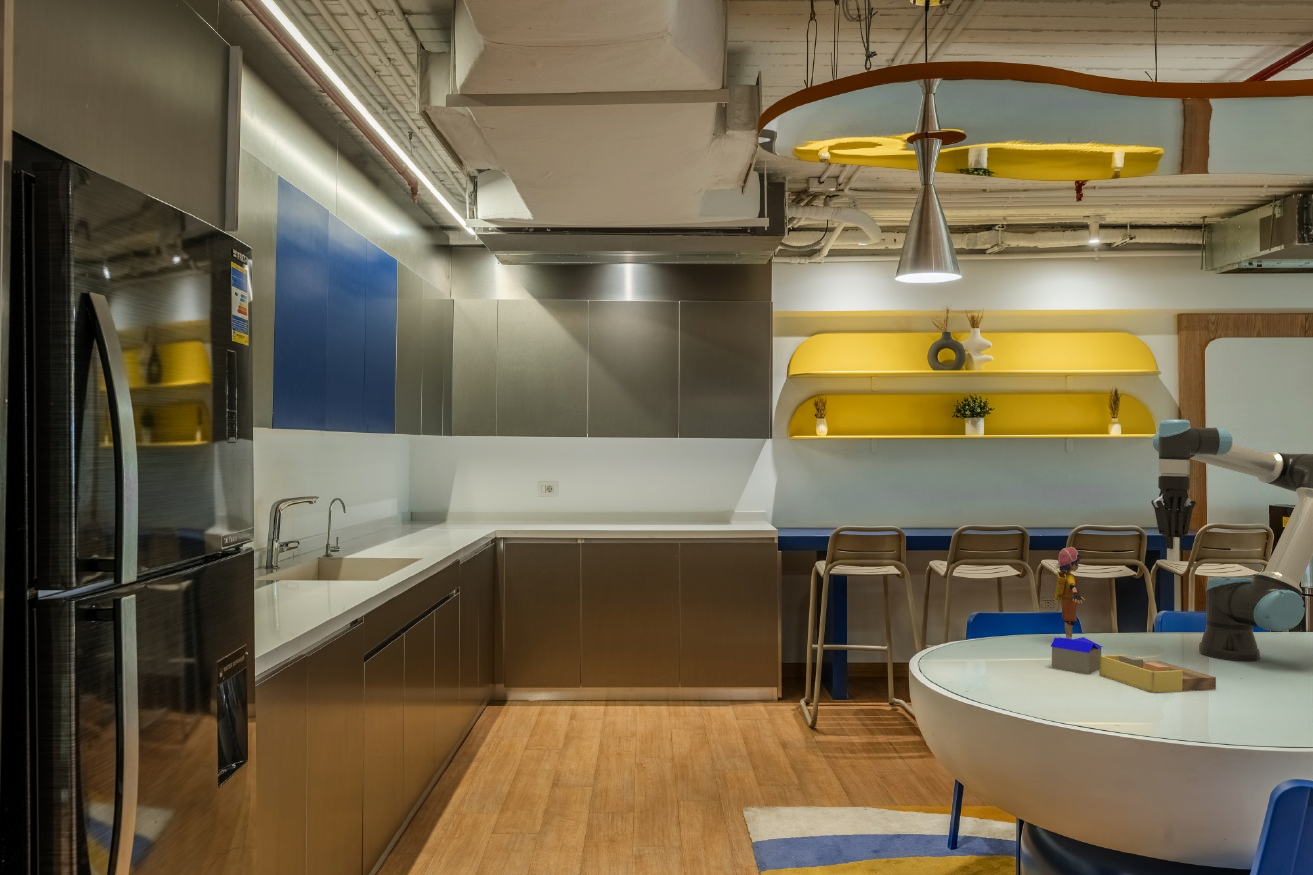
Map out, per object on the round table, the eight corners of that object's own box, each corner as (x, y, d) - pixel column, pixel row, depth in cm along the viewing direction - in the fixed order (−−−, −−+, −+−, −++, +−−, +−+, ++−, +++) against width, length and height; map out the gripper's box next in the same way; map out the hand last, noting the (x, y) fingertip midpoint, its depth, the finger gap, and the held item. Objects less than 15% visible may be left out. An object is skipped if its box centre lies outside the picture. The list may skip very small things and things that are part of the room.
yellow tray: (1127, 673, 240) (1127, 654, 240) (1182, 691, 222) (1182, 670, 222) (1099, 674, 237) (1099, 655, 238) (1152, 692, 220) (1152, 672, 220)
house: (1062, 662, 252) (1062, 633, 253) (1102, 669, 245) (1103, 639, 245) (1047, 667, 245) (1048, 638, 245) (1089, 675, 237) (1089, 645, 238)
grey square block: (1128, 655, 237) (1119, 655, 236) (1143, 659, 232) (1133, 659, 231) (1128, 674, 237) (1118, 674, 236) (1143, 678, 232) (1133, 679, 231)
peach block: (1152, 662, 229) (1143, 662, 228) (1168, 666, 224) (1158, 667, 224) (1152, 681, 229) (1142, 682, 228) (1168, 686, 224) (1158, 687, 223)
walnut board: (1159, 672, 242) (1159, 660, 242) (1215, 689, 225) (1215, 677, 225) (1127, 673, 240) (1128, 662, 240) (1182, 691, 222) (1182, 678, 222)
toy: (1090, 653, 265) (1091, 551, 265) (1064, 651, 266) (1065, 550, 267) (1070, 637, 288) (1071, 543, 289) (1045, 635, 289) (1047, 542, 290)
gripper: (1182, 475, 254) (1181, 558, 254) (1143, 474, 251) (1142, 559, 251) (1204, 476, 247) (1203, 562, 246) (1165, 475, 244) (1164, 562, 243)
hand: (1173, 560), depth 249 cm, fingers closed
